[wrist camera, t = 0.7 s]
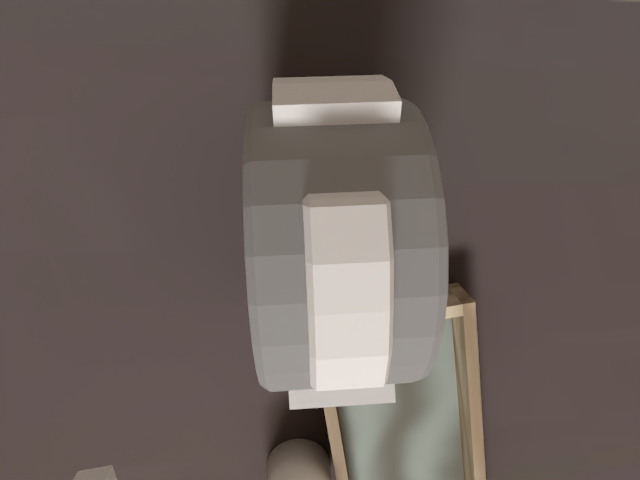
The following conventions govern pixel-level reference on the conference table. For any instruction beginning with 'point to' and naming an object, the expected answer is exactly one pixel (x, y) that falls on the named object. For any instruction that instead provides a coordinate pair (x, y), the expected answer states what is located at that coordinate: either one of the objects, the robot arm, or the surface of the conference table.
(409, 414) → the tray
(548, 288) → the conference table surface
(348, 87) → the alarm clock
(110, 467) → the robot arm
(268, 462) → the white rounded cylinder
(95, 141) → the conference table surface
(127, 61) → the conference table surface
